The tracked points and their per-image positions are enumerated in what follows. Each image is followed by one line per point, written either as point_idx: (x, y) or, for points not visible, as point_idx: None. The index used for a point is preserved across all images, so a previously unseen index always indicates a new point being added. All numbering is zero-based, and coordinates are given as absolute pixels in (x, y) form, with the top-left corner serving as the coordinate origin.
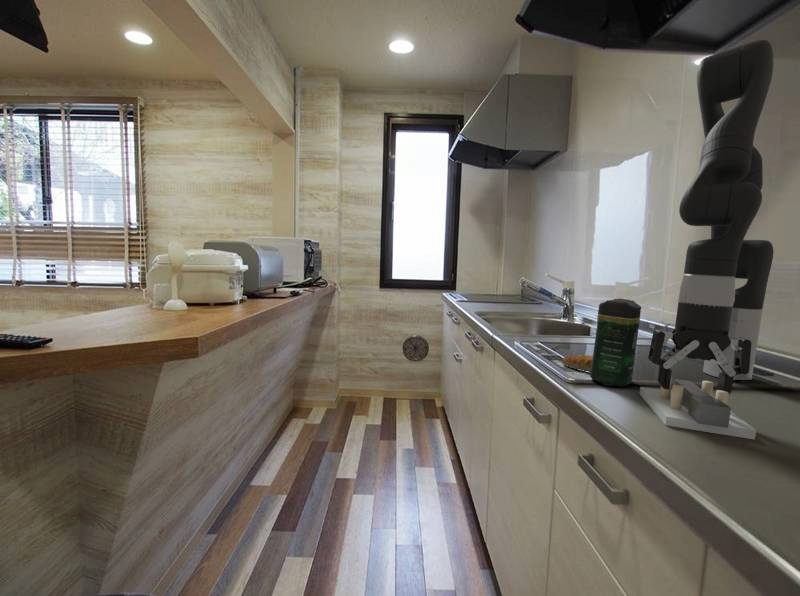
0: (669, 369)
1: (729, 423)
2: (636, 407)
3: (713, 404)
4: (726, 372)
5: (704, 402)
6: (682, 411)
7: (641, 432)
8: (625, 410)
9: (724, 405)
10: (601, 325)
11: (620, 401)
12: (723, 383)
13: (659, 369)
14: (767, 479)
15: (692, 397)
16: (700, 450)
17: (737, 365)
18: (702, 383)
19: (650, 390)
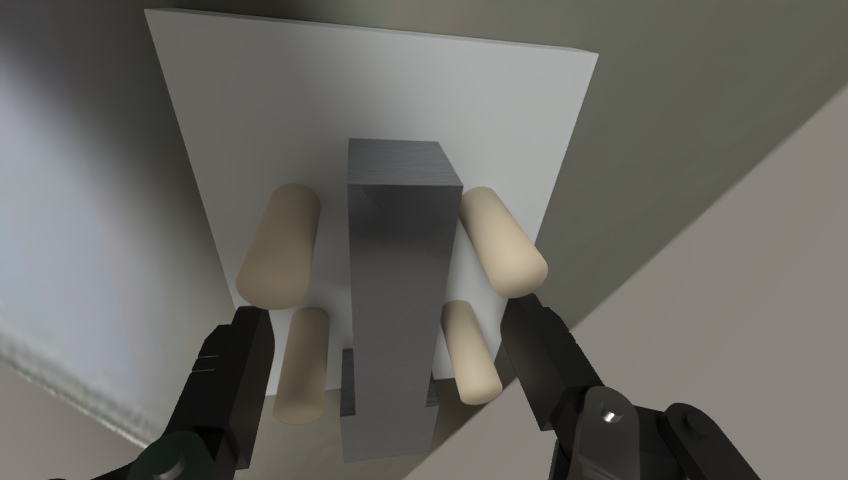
0: (234, 466)
1: (443, 363)
2: (171, 265)
3: (387, 451)
4: (554, 458)
5: (363, 450)
6: (329, 338)
7: None
8: (130, 314)
9: (421, 443)
10: None
11: (82, 219)
12: (524, 385)
13: (174, 415)
14: (392, 464)
15: (341, 426)
16: (320, 437)
17: (677, 468)
18: (488, 266)
19: (224, 91)
